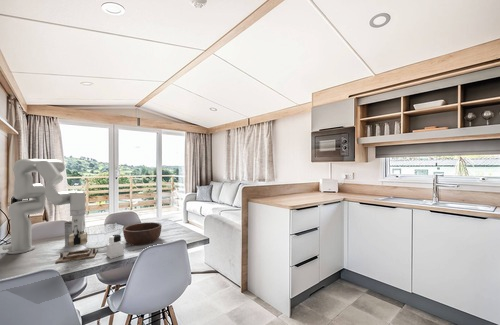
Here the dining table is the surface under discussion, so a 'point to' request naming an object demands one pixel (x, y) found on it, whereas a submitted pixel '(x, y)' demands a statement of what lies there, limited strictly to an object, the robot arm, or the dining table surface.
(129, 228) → the wooden bowl
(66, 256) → the keyed frame
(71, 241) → the oak key block
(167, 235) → the dining table surface
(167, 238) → the dining table surface
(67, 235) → the coffee box
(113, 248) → the medicine bottle
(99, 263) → the dining table surface
